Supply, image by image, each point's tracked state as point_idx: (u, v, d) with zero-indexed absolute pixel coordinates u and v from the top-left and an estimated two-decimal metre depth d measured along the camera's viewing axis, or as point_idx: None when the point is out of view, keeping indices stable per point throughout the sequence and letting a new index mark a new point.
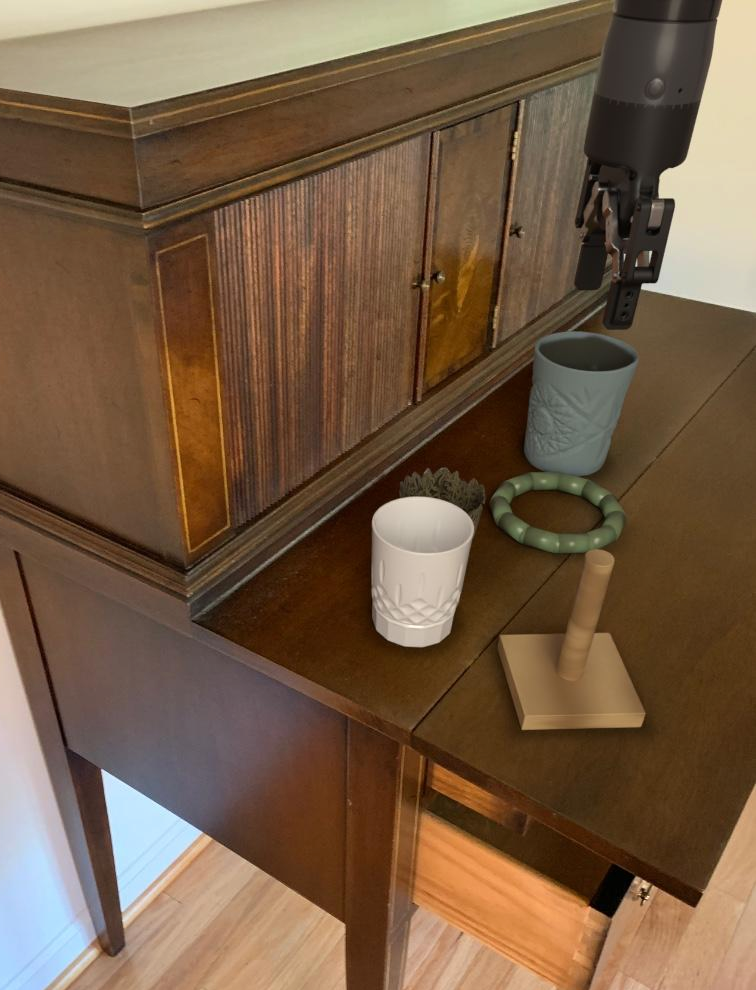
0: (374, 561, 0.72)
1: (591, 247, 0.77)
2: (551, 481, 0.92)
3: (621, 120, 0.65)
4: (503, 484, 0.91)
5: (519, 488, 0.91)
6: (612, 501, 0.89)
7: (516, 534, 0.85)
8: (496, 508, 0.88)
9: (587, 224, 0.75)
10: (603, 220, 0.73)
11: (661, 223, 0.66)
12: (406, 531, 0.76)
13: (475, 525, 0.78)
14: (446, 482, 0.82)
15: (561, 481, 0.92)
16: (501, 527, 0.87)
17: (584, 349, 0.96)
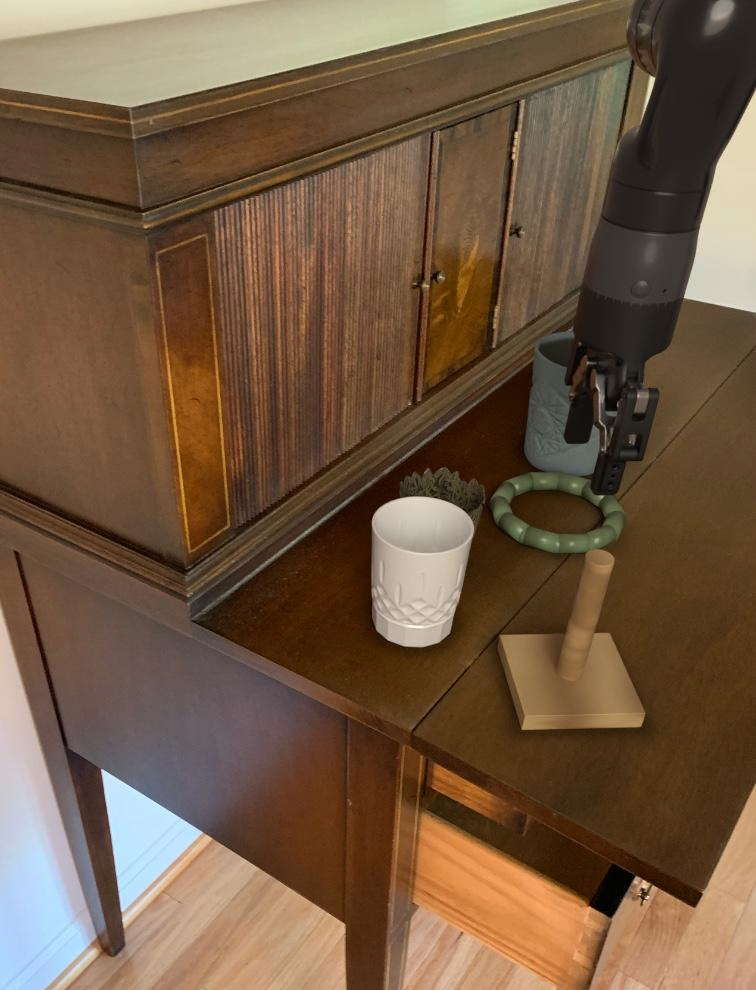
0: (374, 561, 0.72)
1: (580, 407, 0.80)
2: (551, 481, 0.92)
3: (609, 314, 0.68)
4: (503, 484, 0.91)
5: (519, 488, 0.91)
6: (612, 501, 0.89)
7: (516, 534, 0.85)
8: (496, 508, 0.88)
9: (576, 389, 0.78)
10: (591, 390, 0.75)
11: (646, 411, 0.69)
12: (406, 531, 0.76)
13: (475, 525, 0.78)
14: (446, 482, 0.82)
15: (561, 481, 0.92)
16: (501, 527, 0.87)
17: None
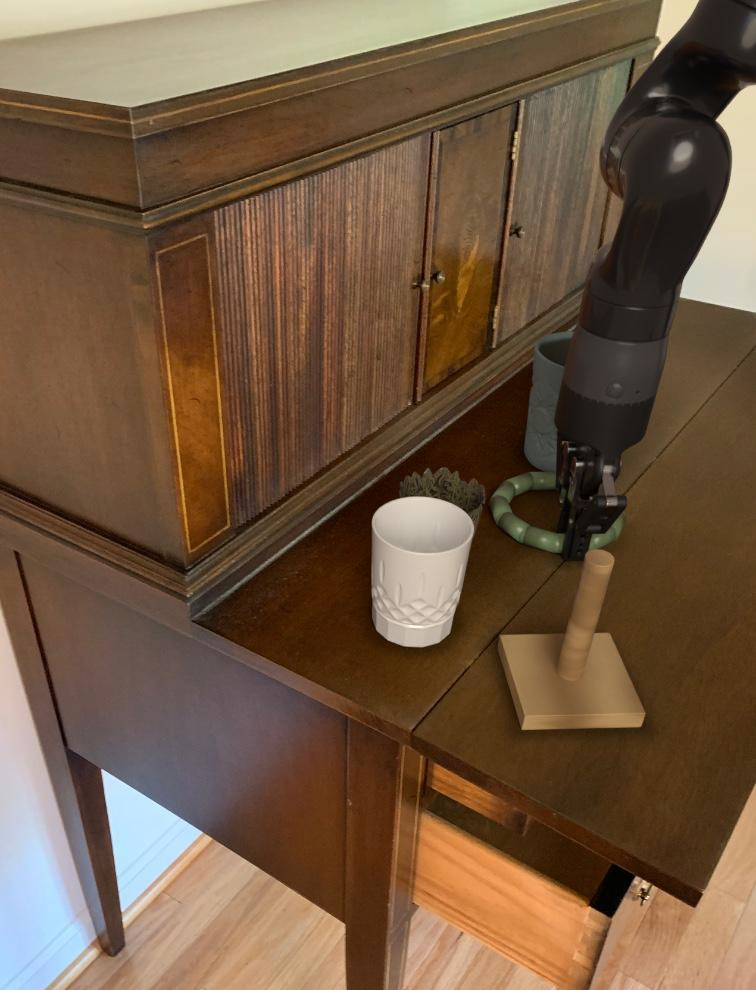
0: (374, 561, 0.72)
1: (570, 513, 0.84)
2: (551, 481, 0.92)
3: (586, 411, 0.73)
4: (503, 484, 0.91)
5: (519, 487, 0.91)
6: None
7: (516, 534, 0.86)
8: (496, 508, 0.88)
9: (564, 485, 0.82)
10: None
11: (612, 513, 0.76)
12: (406, 531, 0.76)
13: (475, 525, 0.78)
14: (446, 482, 0.82)
15: None
16: (501, 527, 0.87)
17: None
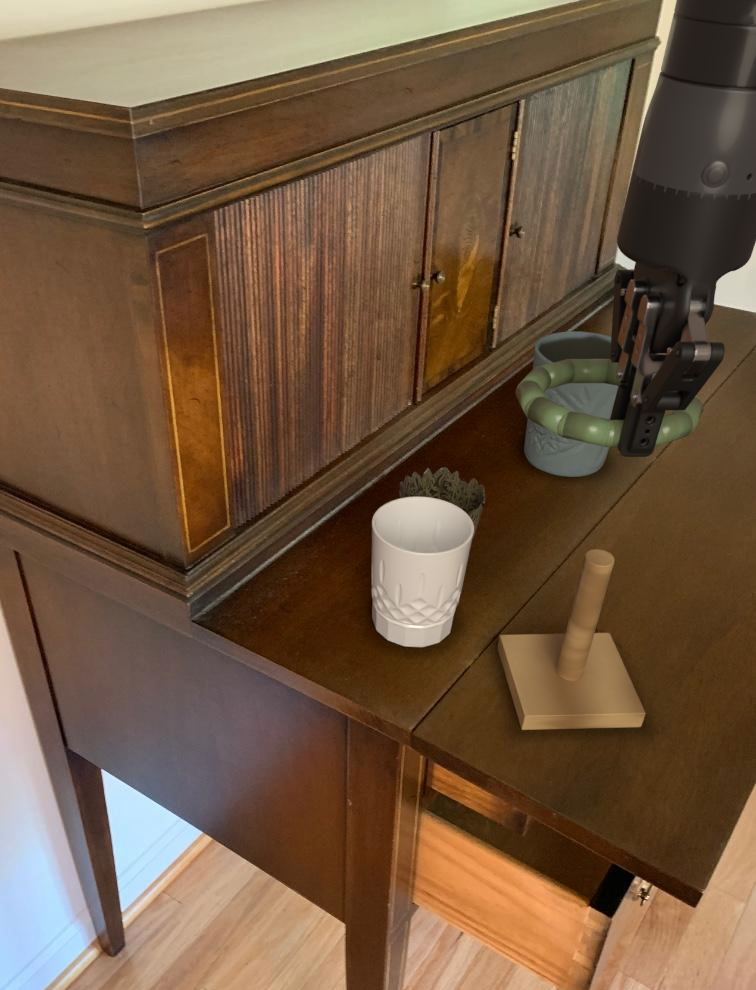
0: (374, 561, 0.72)
1: (631, 390, 0.60)
2: (598, 369, 0.69)
3: (669, 212, 0.50)
4: (534, 370, 0.68)
5: (555, 376, 0.68)
6: None
7: (553, 422, 0.62)
8: (525, 394, 0.65)
9: (625, 346, 0.58)
10: None
11: (701, 371, 0.52)
12: (406, 531, 0.76)
13: (475, 525, 0.78)
14: (446, 482, 0.82)
15: (611, 369, 0.69)
16: (532, 417, 0.64)
17: (584, 349, 0.96)
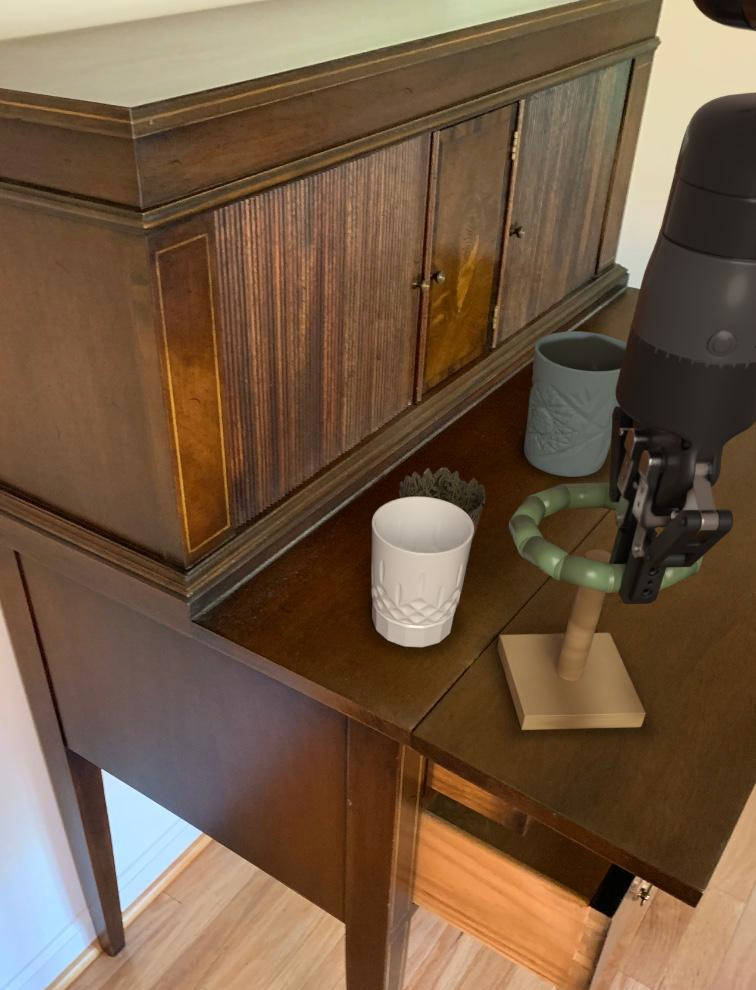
0: (374, 561, 0.72)
1: (632, 534, 0.57)
2: (594, 495, 0.66)
3: (672, 378, 0.46)
4: (527, 500, 0.65)
5: (550, 505, 0.65)
6: None
7: (550, 566, 0.59)
8: (519, 532, 0.62)
9: (625, 493, 0.55)
10: (640, 476, 0.54)
11: (708, 538, 0.49)
12: (406, 531, 0.76)
13: (475, 525, 0.78)
14: (446, 482, 0.82)
15: None
16: (527, 558, 0.60)
17: (584, 349, 0.96)
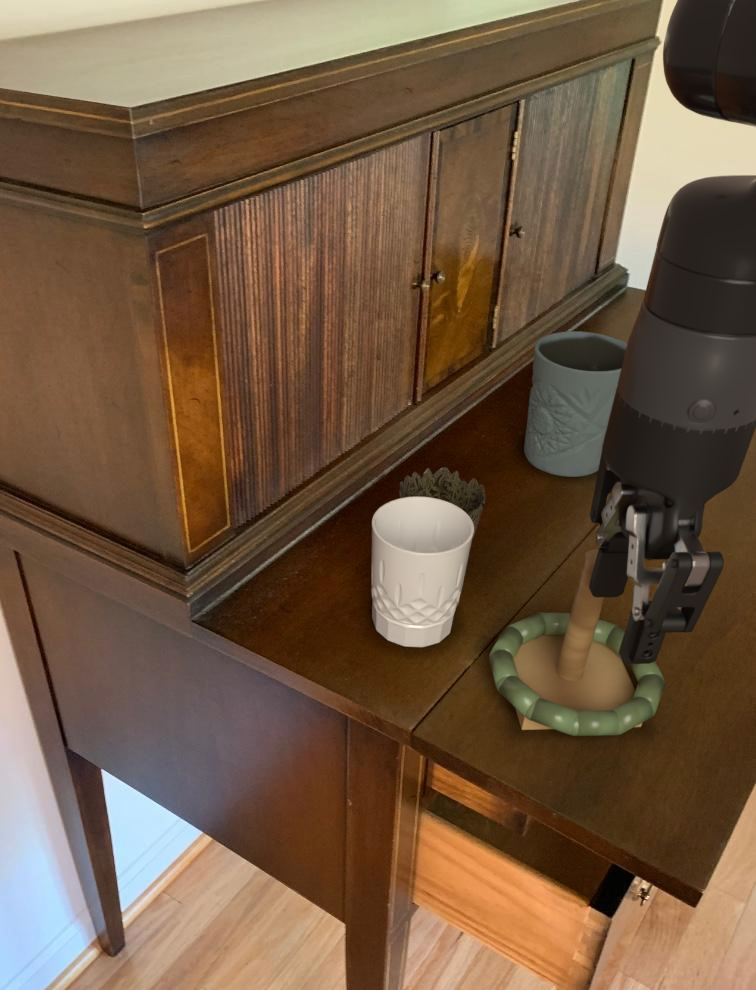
0: (374, 561, 0.72)
1: (611, 554, 0.60)
2: None
3: (655, 441, 0.48)
4: (507, 631, 0.72)
5: (527, 635, 0.72)
6: None
7: (522, 708, 0.66)
8: (497, 668, 0.69)
9: (607, 528, 0.58)
10: None
11: (703, 582, 0.50)
12: (406, 531, 0.76)
13: (475, 525, 0.78)
14: (446, 482, 0.82)
15: None
16: (503, 695, 0.68)
17: (584, 349, 0.96)
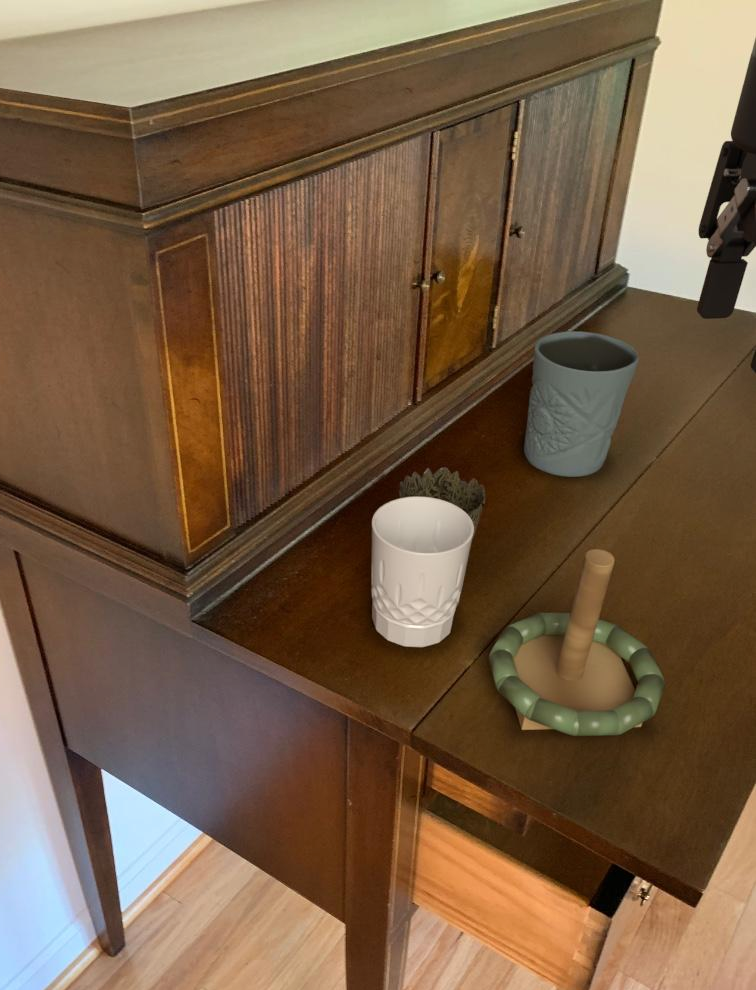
0: (374, 561, 0.72)
1: (724, 264, 0.59)
2: None
3: None
4: (507, 631, 0.72)
5: (527, 635, 0.72)
6: (646, 659, 0.69)
7: (522, 708, 0.66)
8: (497, 668, 0.69)
9: (723, 234, 0.57)
10: (751, 229, 0.54)
11: None
12: (406, 531, 0.76)
13: (475, 525, 0.78)
14: (446, 482, 0.82)
15: None
16: (503, 695, 0.68)
17: (584, 349, 0.96)
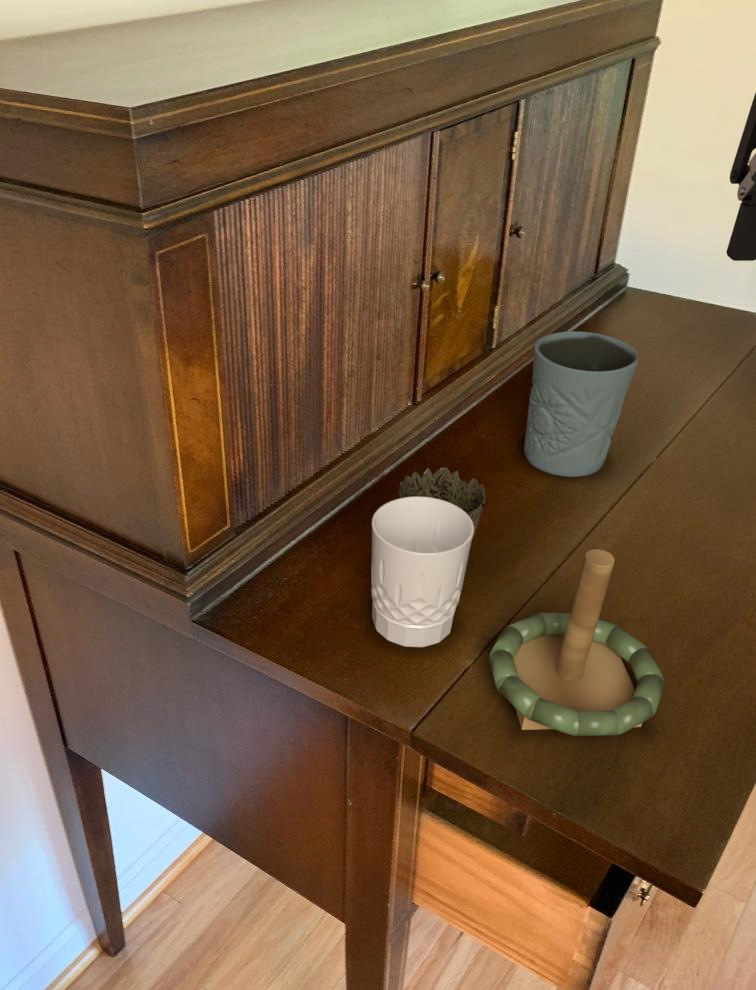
0: (374, 561, 0.72)
1: (754, 206, 0.63)
2: None
3: None
4: (507, 631, 0.72)
5: (527, 635, 0.72)
6: (646, 659, 0.69)
7: (522, 708, 0.66)
8: (497, 668, 0.69)
9: (755, 176, 0.60)
10: None
11: None
12: (406, 531, 0.76)
13: (475, 525, 0.78)
14: (446, 482, 0.82)
15: None
16: (503, 695, 0.68)
17: (584, 349, 0.96)
